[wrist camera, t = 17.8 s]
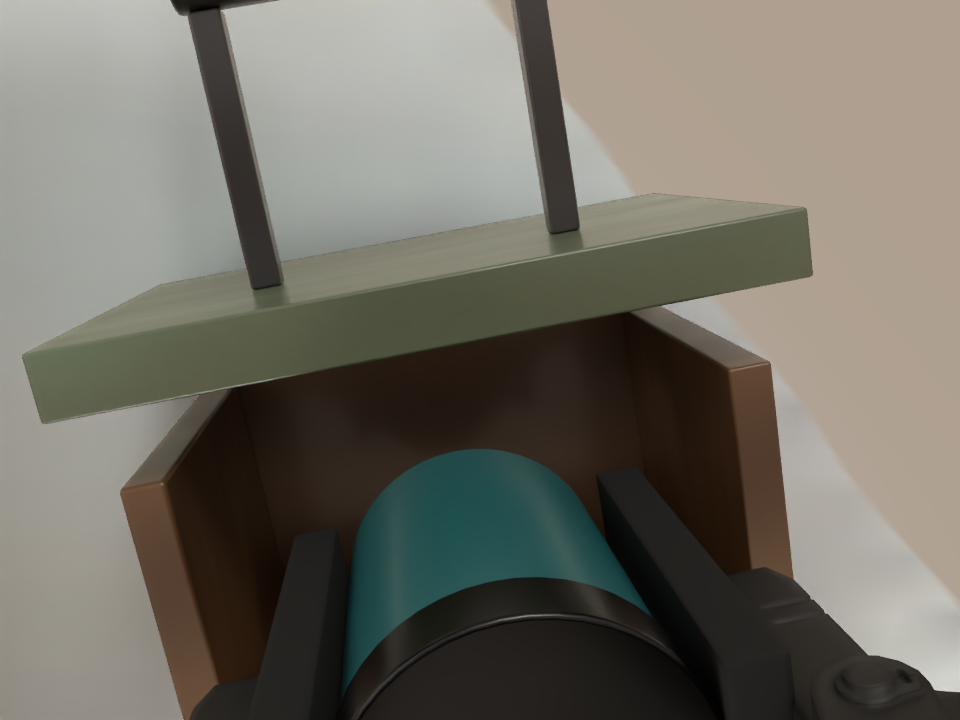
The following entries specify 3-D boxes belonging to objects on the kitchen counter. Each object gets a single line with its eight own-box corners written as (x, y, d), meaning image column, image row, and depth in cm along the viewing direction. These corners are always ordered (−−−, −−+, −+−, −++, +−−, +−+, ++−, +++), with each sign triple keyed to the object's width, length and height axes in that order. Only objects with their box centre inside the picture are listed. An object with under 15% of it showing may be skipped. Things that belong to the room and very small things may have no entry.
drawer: (86, 5, 22) (-117, -105, 13) (620, -83, 22) (766, -242, 14) (291, 804, 26) (245, 1113, 18) (722, 709, 27) (877, 961, 19)
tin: (373, 708, 17) (369, 1024, 11) (319, 470, 16) (281, 666, 10) (618, 653, 17) (756, 928, 11) (582, 418, 16) (711, 573, 10)
